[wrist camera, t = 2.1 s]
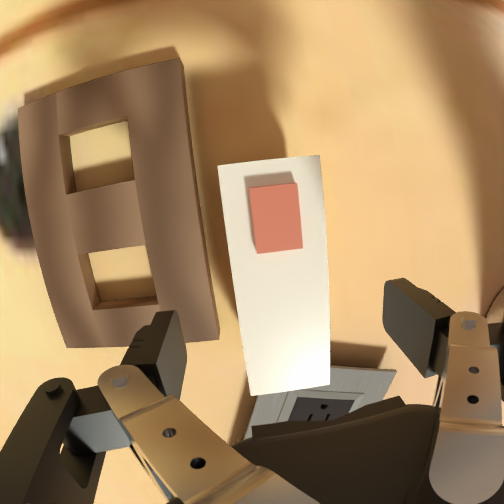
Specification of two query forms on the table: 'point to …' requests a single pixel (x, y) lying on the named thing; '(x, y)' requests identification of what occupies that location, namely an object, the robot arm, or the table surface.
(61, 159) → the brown wooden slotted board
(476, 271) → the table surface
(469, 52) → the table surface
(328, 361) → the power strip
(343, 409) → the electrical outlet
